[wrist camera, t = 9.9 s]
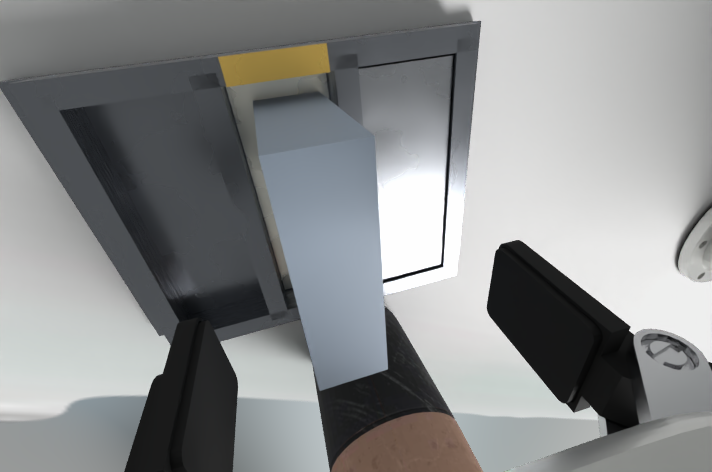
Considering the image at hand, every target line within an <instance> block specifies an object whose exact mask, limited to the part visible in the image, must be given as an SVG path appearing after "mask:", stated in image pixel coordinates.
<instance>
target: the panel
mask: <svg viewBox="0 0 712 472" xmlns="http://www.w3.org/2000/svg"><path fill="white" fill-rule="evenodd" d="M253 109H254V118H255V128H256V137H257V146H258V155H259V160H260V164H261V167H262V171H263V175H264V179H265V183H266V187H267V191H268V194H269V198H270V202H271V206H272V210H273V214H274V218H275V221H276V225H277V229H278V233H279V237H280V241H281V245H282V248H283V252H284V256H285V260H286V264H287V268H288V271H289V275H290V279H291V283H292V287H293V291H294V295H295V298H296V302H297V306H298V310H299V314H300V318H301V322H302V325H303V329H304V333H305V337H306V341H307V345H308V349H309V352H310V356H311V360H312V364H313V368H314V372H315V376H316V379H317V383H318V387H319V391H321V390H324V389H328V388H331V387H334V386H337V385H340V384H343V383H346V382H350V381H353V380H356V379H359V378H362V377H365V376H369V375H372V374H375V373H378V372H381V371H384V370H387V369H388V360H387V343H386V325H385V308H384V291H383V273H382V256H381V238H380V221H379V204H378V186H377V169H376V151H375V136H374V135H373V134H372V133H370V132H369V131H368V130H367V129H365V128H364V127H363V126H362V125H360V124H359V123H358V122H357V121H355V120H354V119H353V118H352V117H350V116H349V115H348V114H347V113H345V112H344V111H343V110H342V109H340V108H339V107H338V106H337V105H335V104H334V103H333V102H332V101H330V100H329V99H328V98H327V97H325V96H324V95H323V94H322V93H320V92H319V91H317V92H310V93H303V94H296V95H289V96H282V97H276V98H269V99H262V100H255V101H253Z"/></svg>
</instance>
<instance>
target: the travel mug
mask: <svg viewBox="0 0 712 472" xmlns="http://www.w3.org/2000/svg"><path fill="white" fill-rule="evenodd" d="M385 325H386V343H387V360H388V369H387V370H384V371H381V372H378V373H375V374H372V375H369V376H365V377H362V378H359V379H356V380H353V381H350V382H346V383H343V384H340V385H337V386H334V387H331V388H328V389H324V390H321V391H319V387H318V383H317V379H316V376H315V372H314V377H315V383H316V389H317V395H318V401H319V407H320V413H321V419H322V425H323V431H324V437H325V443H326V450H327V455H328V462H329V468H330V472H483V471H482V469H481V467H480V465H479V463H478V461H477V459H476V457H475V456H474V454H473V452H472V450H471V448H470V447H469V444H468V442H467V441H466V439H465V437H464V435H463V433H462V431H461V429H460V427H459V426H458V424H457V422H456V421H455V419H454V417H453V415H452V413H451V411H450V410H449V408H448V406H447V404H446V403H445V401H444V399H443V398H442V396H441V394H440V392H439V391H438V389H437V387H436V385H435V384H434V382H433V380H432V379H431V377H430V375H429V373H428V372H427V370H426V368H425V367H424V365H423V363H422V361H421V360H420V358H419V356H418V354H417V353H416V351H415V349H414V348H413V346H412V344H411V342H410V341H409V339H408V337H407V336H406V334H405V332H404V330H403V329H402V327H401V325H400V324H399V322H398V320H397V319H396V317H395V316H394V315H393V314H392V313H391V312H390V311H389V310H388V309H386V308H385ZM313 371H314V368H313Z"/></svg>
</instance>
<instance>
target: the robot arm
mask: <svg viewBox="0 0 712 472" xmlns="http://www.w3.org/2000/svg"><path fill="white" fill-rule="evenodd" d="M678 268H679V271H680V273H681V274H682V275H683V276H685V277H687V278H688V279H690V280H692V281H694V282H707V281H712V207H711V208H710V209H709V210H708V211H707V212H706V213H705V215H704V216H703V217H702V218H701V219H700V220H699V222H698V223H697V224H696V226H695V227H694V228H693V230H692V231H691V233H690V234H689V236H688V238H687V239H686V241H685V243H684V245H683V247H682V249H681V252H680V255H679V259H678ZM487 311H488V314H489V316H490V317H491V318H492V320H493V321H494V322H495V323H496V325H497V326H498V327H499V328H500V329H501V331H502V332H503V333H504V334H505V335H506V337H507V338H508V339H509V340H510V342H511V343H512V344H513V345H514V346H515V348H516V349H517V350H518V351H519V353H520V354H521V355H522V356H523V357H524V359H525V360H526V361H527V362H528V364H529V365H530V366H531V367H532V368H533V370H534V371H535V372H536V373H537V374H538V376H539V377H540V378H541V379H542V381H543V382H544V383H545V384H546V385H547V387H548V388H549V389H550V390H551V392H552V393H553V394H554V395H555V396H556V398H557V399H558V400H559V401H561V402H562V403H566V404H567V405H568V406H569V408H570V409H571V410H572V411H573V412H577V411H580V410H583V409H586V408H589V407H590V405H591V407H592V408H593V409H594V410H595V411H596V412H597V414H598V423H599V432H600V438H597V439H594V440H592V441H589V442H586V443H583V444H580V445H578V446H575V447H572V448H569V449H566V450H564V451H561V452H558V453H555V454H552V455H550V456H547V457H544V458H541V459H538V460H535V461H533V462H530V463H527V464H524V465H521V466H518V467H516V468H513V469H510V470H507V471H504V472H712V363H710V362H708V361H707V359H706V358H705V356H704V355H703V353H702V352H701V351H700V350H699V349H698V348H697V347H696V346H694V345H693V344H692V343H690V342H689V341H687V340H685V339H684V338H682V337H680V336H677V335H675V334H673V333H670V332H666V331H663V330H657V329H643V330H641V331H638V332H637V333H636V334H635V335H634V334H632V333H631V332H630V331H629V329H630V326H629V325H628V324H626V323H625V322H624V321H623V320H621V319H620V318H619V317H617V316H616V315H615V314H614V313H612V312H611V311H610V310H609V309H607V308H606V307H605V306H603V305H602V304H601V303H600V302H598V301H597V300H596V299H595V298H593V297H592V296H591V295H589V294H588V293H587V292H586V291H584V290H583V289H582V288H580V287H579V286H578V285H577V284H575V283H574V282H573V281H572V280H570V279H569V278H568V277H566V276H565V275H564V274H563V273H561V272H560V271H559V270H558V269H556V268H555V267H554V266H552V265H551V264H550V263H549V262H547V261H546V260H545V259H544V258H542V257H541V256H540V255H538V254H537V253H536V252H535V251H533V250H532V249H531V248H529V247H528V246H527V245H526V244H524V243H523V242H522V241H520V240H516V241H512V242H508V243H504V244H501V245H500V246H499V249H498V250H496V253H495V258H494V265H493V271H492V277H491V283H490V290H489V296H488V302H487ZM237 393H238V382H237V377H236V374H235V372H234V370H233V368H232V366H231V364H230V362H229V360H228V358H227V356H226V354H225V352H224V350H223V348H222V346H221V344H220V342H219V339H218V337H217V335H216V333H215V331H214V329H213V327H212V325H211V323H210V322H209V321H208V320H207V321H203V320H202V318H200V317H198V318H194V319H190V320H186V321H182V322H179V323H178V324H177V326H176V330H175V333H174V337H173V340H172V344H171V347H170V351H169V354H168V358H167V361H166V365H165V368H164V372H163V374H161V375H158V376H156V378H155V379H154V380H153V382H152V385H151V388H150V391H149V394H148V397H147V401H146V404H145V407H144V410H143V413H142V417H141V420H140V423H139V426H138V429H137V433H136V436H135V439H134V442H133V445H132V449H131V452H130V455H129V458H128V462H127V465H126V468H125V471H124V472H232V470H233V456H234V440H235V424H236V408H237Z"/></svg>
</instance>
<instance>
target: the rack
mask: <svg viewBox="0 0 712 472" xmlns="http://www.w3.org/2000/svg"><path fill="white" fill-rule="evenodd" d="M480 27H481V21H472V22H465V23H457V24H449V25H441V26H433V27H425V28H417V29H409V30H402V31H394V32H386V33H378V34H370V35H362V36H354V37H346V38H338V39H331V40H323V41H315V42H307V43H299V44H291V45H283V46H275V47H268V48H260V49H252V50H244V51H236V52H228V53H220V54H212V55H204V56H197V57H189V58H181V59H173V60H165V61H157V62H149V63H141V64H134V65H126V66H118V67H110V68H102V69H94V70H86V71H78V72H71V73H63V74H55V75H47V76H39V77H31V78H23V79H15V80H7V81H2V82H0V88H1V90H2V91H3V93H4V95H5V96H6V98H7V99H8V101H9V102H10V104H11V106H12V107H13V109H14V110H15V112H16V113H17V115H18V116H19V118H20V120H21V121H22V123H23V124H24V126H25V127H26V129H27V130H28V132H29V134H30V135H31V137H32V138H33V140H34V141H35V143H36V144H37V146H38V148H39V149H40V151H41V152H42V154H43V155H44V157H45V158H46V160H47V162H48V163H49V165H50V166H51V168H52V169H53V171H54V173H55V174H56V176H57V177H58V179H59V180H60V182H61V183H62V185H63V187H64V188H65V190H66V191H67V193H68V194H69V196H70V197H71V199H72V201H73V202H74V204H75V205H76V207H77V208H78V210H79V211H80V213H81V215H82V216H83V218H84V219H85V221H86V222H87V224H88V226H89V227H90V229H91V230H92V232H93V233H94V235H95V236H96V238H97V240H98V241H99V243H100V244H101V246H102V247H103V249H104V250H105V252H106V254H107V255H108V257H109V258H110V260H111V261H112V263H113V264H114V266H115V268H116V269H117V271H118V272H119V274H120V275H121V277H122V278H123V280H124V282H125V283H126V285H127V286H128V288H129V289H130V291H131V293H132V294H133V296H134V297H135V299H136V300H137V302H138V303H139V305H140V307H141V308H142V310H143V311H144V313H145V314H146V316H147V317H148V319H149V321H150V322H151V324H152V325H153V327H154V328H155V330H156V331H157V333H158V335H159V336H161V335H165V337H166V338H167V340H168V342H169V343H170V345H171V344H172V340H173V337H174V333H175V330H176V326H177V324H178V323H179V322H182V321H186V320H190V319H194V318H198V317H200V318H202V320H203V321H207V320H208V321H209V322H210V323H211V325H212V327H213V329H214V331H215V333H216V335H217V337H218V339H219V342H220V341H224V340H228V339H231V338H235V337H238V336H242V335H245V334H249V333H253V332H256V331H260V330H263V329H267V328H270V327H274V326H277V325H281V324H285V323H288V322H292V321H295V320H299V319H301V318H300V314H299V310H298V306H297V302H296V298H295V295H294V291H293V287H292V283H291V279H290V275H289V271H288V268H287V264H286V260H285V256H284V252H283V248H282V245H281V241H280V237H279V233H278V229H277V225H276V221H275V218H274V214H273V210H272V206H271V202H270V198H269V194H268V191H267V187H266V183H265V179H264V175H263V171H262V167H261V164H260V160H259V155H258V146H257V137H256V128H255V118H254V109H253V101H255V100H262V99H269V98H276V97H282V96H289V95H296V94H303V93H310V92H317V91H319V92H320V93H322V94H323V95H324V96H325V97H327V98H328V99H329V100H330V101H332V102H333V103H334V104H335V105H337V106H338V107H339V108H340V109H342V110H343V111H344V112H345V113H347V114H348V115H349V116H350V117H352V118H353V119H354V120H355V121H357V122H358V123H359V124H360V125H362V126H363V127H364V128H365V129H367V130H368V131H369V132H370V133H372V134H373V135H374V136H375V151H376V169H377V186H378V204H379V221H380V238H381V256H382V273H383V291H384V296H385V295H388V294H392V293H395V292H399V291H402V290H406V289H410V288H413V287H417V286H420V285H424V284H427V283H431V282H435V281H438V280H442V279H445V278H449V277H452V276H456V275H457V265H458V256H459V251H460V240H461V230H462V219H463V208H464V198H465V187H466V176H467V166H468V155H469V144H470V134H471V123H472V112H473V101H474V91H475V80H476V69H477V59H478V48H479V37H480Z"/></svg>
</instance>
